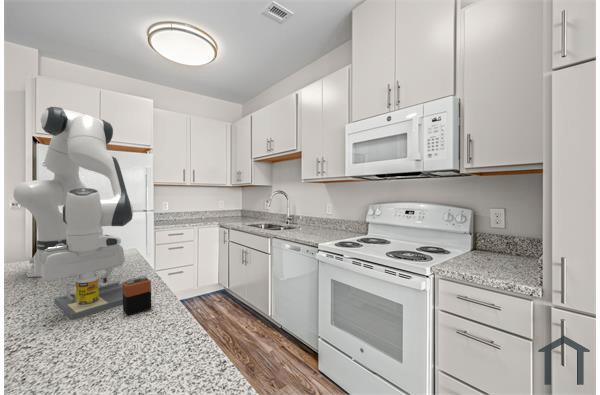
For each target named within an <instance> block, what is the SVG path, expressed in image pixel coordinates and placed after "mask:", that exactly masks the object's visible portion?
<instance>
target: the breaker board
mask: <svg viewBox="0 0 600 395" xmlns="http://www.w3.org/2000/svg"><path fill="white" fill-rule="evenodd" d="M54 303H55V304H56V305H57V306H58V307H59V309H61V310H62V311H63V312H64V314H66V315H67V316H68V317H69V318H70V319H71V320H72V321H74V320H76V319H79V318H83V317H86V316H89V315H93V314H96V313H98V312H99V313H100V312H102V311H106V310H108V309H113V308H115V307H118V306H122V305H123V290H122V283H120V282H118V281H115V282H111V283H108V284H103V285H101V284H99V301H98V302H97V303H96V304H93V305H90V306H85V307H80V306H78V305H77V301H76V298H74V290H72V291H71V293H69V292H67V293H65V292H63V293H61V294H60V295H59V296H57V297H54Z"/></svg>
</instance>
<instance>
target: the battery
mask: <svg viewBox="0 0 600 395" xmlns="http://www.w3.org/2000/svg"><path fill="white" fill-rule="evenodd" d="M121 284H122V290H123V304H122V312H124V313H125V314H126V315H127V316H131V315H134V314H138V313H141V312H145V311H148V310H151V309H152V281H151V280H150V279H149V278H148V277H147V276H146V275H141V276H138V277H137V278H136V279H126V281H124V282H123V281H122V283H121Z"/></svg>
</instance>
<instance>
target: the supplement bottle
mask: <svg viewBox="0 0 600 395" xmlns="http://www.w3.org/2000/svg"><path fill="white" fill-rule="evenodd" d="M99 281H100V280H99V276H98V275H97V274H96V271H95V272H93V271H92V272H87V273H85V274H81V275H78V277H77V278H76V279H75V287H76V301H77V305H78V306H80V307H85V306H90V305H93V304H96V303H97V302H98V301H99V285H100V283H99Z"/></svg>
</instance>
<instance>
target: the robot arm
mask: <svg viewBox="0 0 600 395" xmlns="http://www.w3.org/2000/svg"><path fill="white" fill-rule="evenodd" d="M40 123H41V128H42V130H43V131H44V133H47V134H49V135H51V139H50V142H49V143H48V144H49V145H48V148H47V151H46V154H45V158H44V166H45V168H46V169H47V170H49V171H50V172H51V173H53V179H51V180H49V179H47V180H46V179H37V180H36V179H34V180H29V181H23V182H20V183H18V184H17V185H16V186H15V188H14V190H13V194H12V195H13V198H14V201H15V202H16V203H17V204H18V205H19V206H21V207H23V208H24V209H26V210H27V211H29V212H30V214H32V216H33V218H34V220H35V222H36V228H37V241H36V249H37V250H36V252H35V253H34V255H33V257H29V259H28V260H29V261H28V262H29V264H30V266H28V270H27V274H26V277H27V278H34V277H35V278H36V277H41V278H42V280H45V281H46V282H51V281H53V282H54V281H57V280H58V282H59V283H60V284H61V285H62V286H63V293H70V292H73V289H72V285H71V284H70V283H69V284H67V283H66V282H67V278H71V277H76V276H79V275H81V274H85V273H87V272H92V271H93V272H95V273H96V272H100V271H103V270H104V271H105V273H104V275H103V276H101V277H100V279H101V280H100V282H101V284H106V283H109V277H110V275H111V274H112V272H113V269H114V268H116V267H118V268H119V267H121V266H123V265H124V264H125V262H126V260H125V259H126V258H125V257H126V256H125V252H124V247H122V245H121V243H122V239H121V238H120V237H117V236H114V235H109V234H104V233H103V232H104V230H103V227H124V226H125V225H127V224H129V223H130V222H131V220H133V216H134V208H133V205H132V203H131V201H130V198H129V195H128V192H127V189H126V185H125V181H124V180H125V179H124V176H123V173H122V170H121V167H120V164H119V161H118V159H117V158H116V157H114V156H113V155H111V154H110V153H109V151H108V149H107V145H108V144H110V143H111V141H112V139H113V136H114V129H113V126H112V124H111V123H110V122H108V121H106V120H104V119H99V118H97V117H94V116H93V115H89V114H86V113H81V112H78V111H75V110H69V109H64V108H62V107H58V106H49V107H47V108H46V109H45V110H44V112H43V113H42V114H41V118H40ZM80 168H82V169H84V170H88V171H90V172H93V173H97V174H99V175H102V176H105V177H106V178H107V179H108V180H109V181H110V186H111V189H112V193H113V196H111V197H101V196H100V195H101V194H100V193H99V190H97V189H95V188H90V187H89V188H88V187H86V184H84V183H83V182H82V181H81V179H80V174H79V172H80ZM61 206H62V213H61V212H60V209H59V207H61Z"/></svg>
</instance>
